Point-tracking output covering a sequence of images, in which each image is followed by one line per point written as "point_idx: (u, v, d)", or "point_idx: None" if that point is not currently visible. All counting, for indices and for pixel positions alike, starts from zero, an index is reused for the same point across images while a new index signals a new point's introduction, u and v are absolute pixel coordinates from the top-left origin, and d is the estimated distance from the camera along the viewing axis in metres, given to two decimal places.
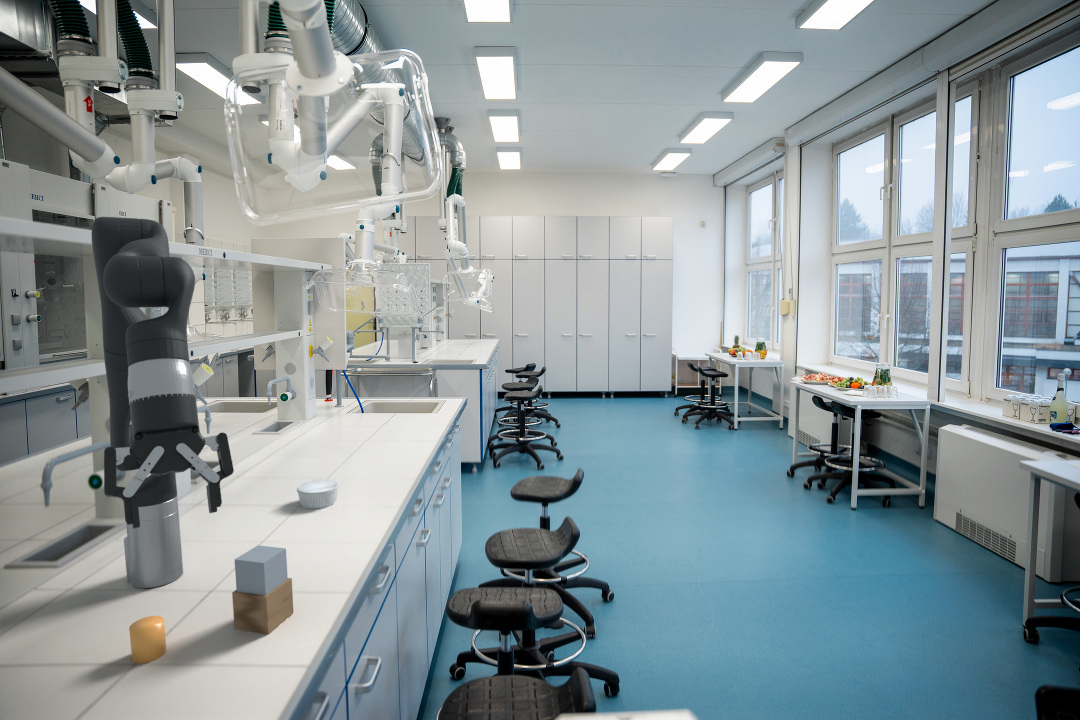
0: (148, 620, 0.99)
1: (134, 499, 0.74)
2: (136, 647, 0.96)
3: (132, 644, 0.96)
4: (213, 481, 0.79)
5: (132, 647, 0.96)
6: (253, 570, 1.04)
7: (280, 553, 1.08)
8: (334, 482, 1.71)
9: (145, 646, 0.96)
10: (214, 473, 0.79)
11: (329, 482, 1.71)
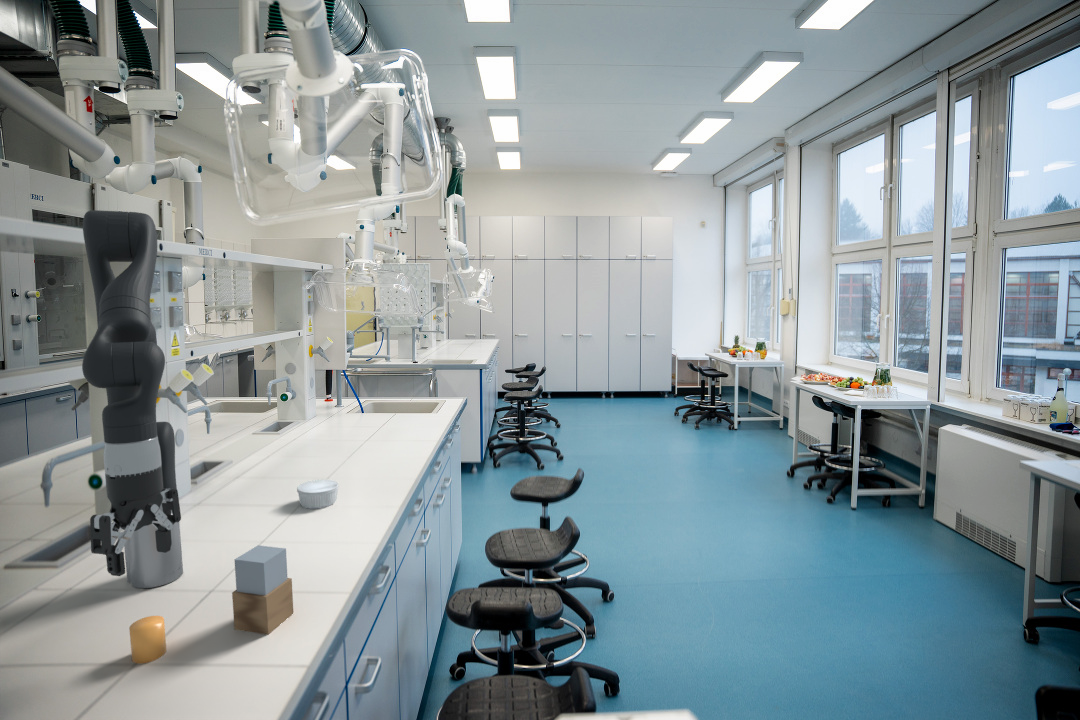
0: (148, 620, 0.99)
1: (121, 554, 0.92)
2: (136, 647, 0.96)
3: (132, 644, 0.96)
4: (169, 529, 1.00)
5: (132, 647, 0.96)
6: (253, 570, 1.04)
7: (280, 553, 1.08)
8: (334, 482, 1.71)
9: (145, 646, 0.96)
10: (169, 522, 1.01)
11: (329, 482, 1.71)
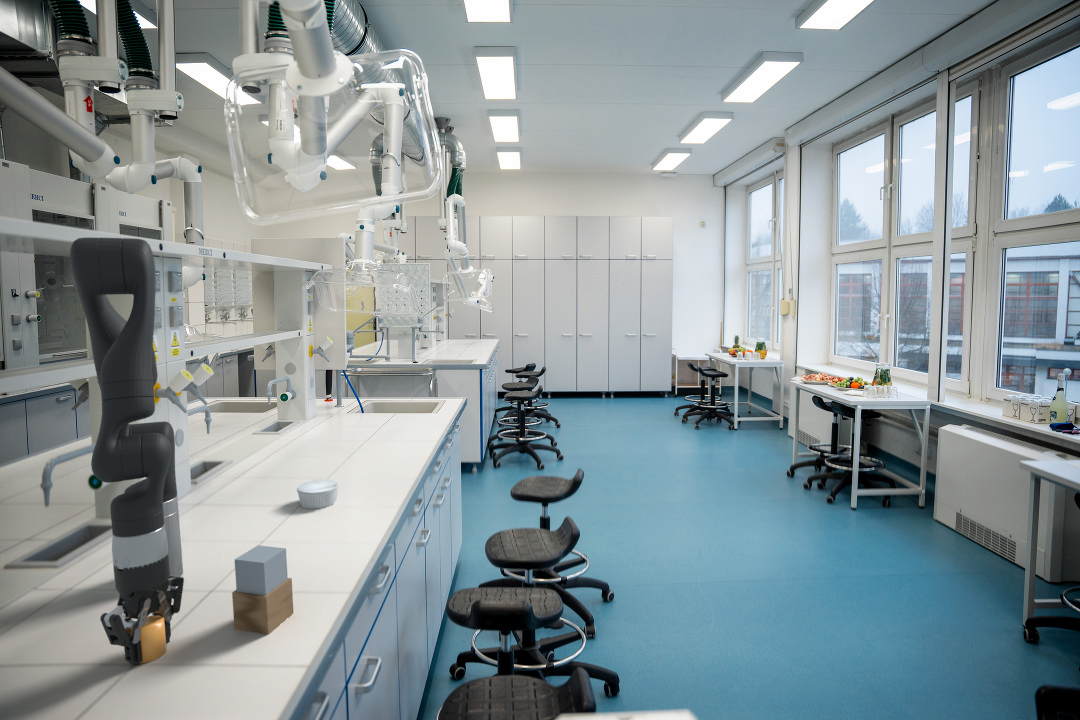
0: (148, 620, 0.99)
1: (139, 643, 0.95)
2: None
3: None
4: (167, 621, 1.01)
5: None
6: (253, 570, 1.04)
7: (280, 553, 1.08)
8: (334, 482, 1.71)
9: (145, 646, 0.96)
10: (169, 614, 1.01)
11: (329, 482, 1.71)
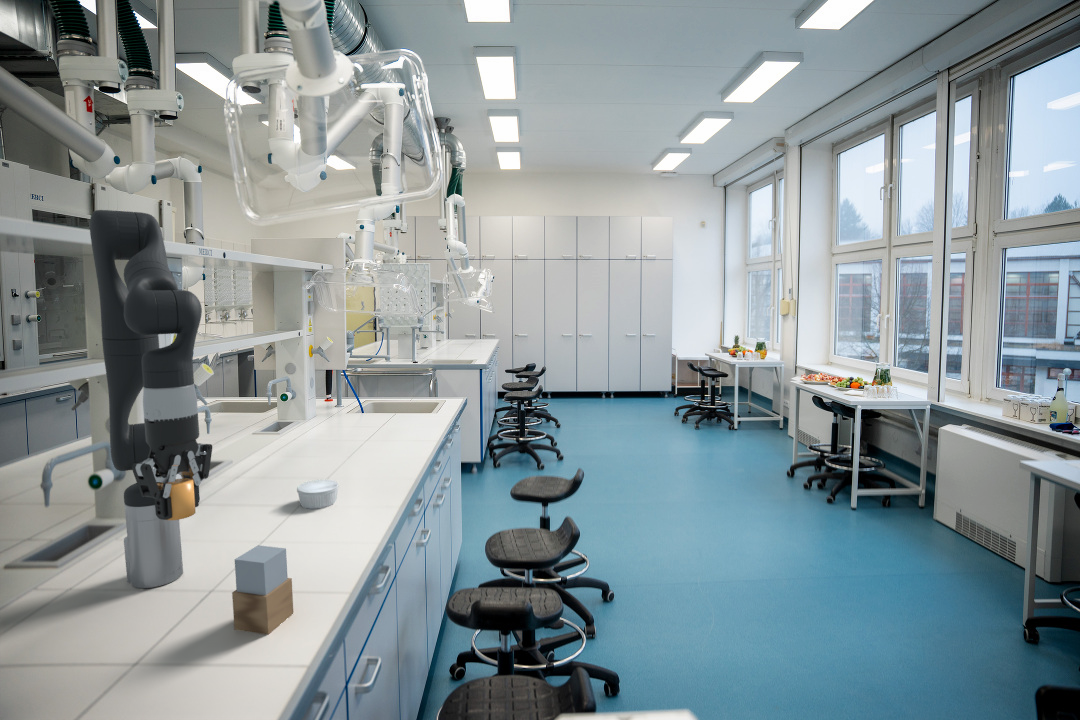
0: (178, 481, 0.99)
1: (169, 498, 0.96)
2: None
3: None
4: (196, 484, 1.01)
5: None
6: (253, 570, 1.04)
7: (280, 553, 1.08)
8: (334, 482, 1.71)
9: (175, 503, 0.96)
10: (198, 478, 1.01)
11: (329, 482, 1.71)
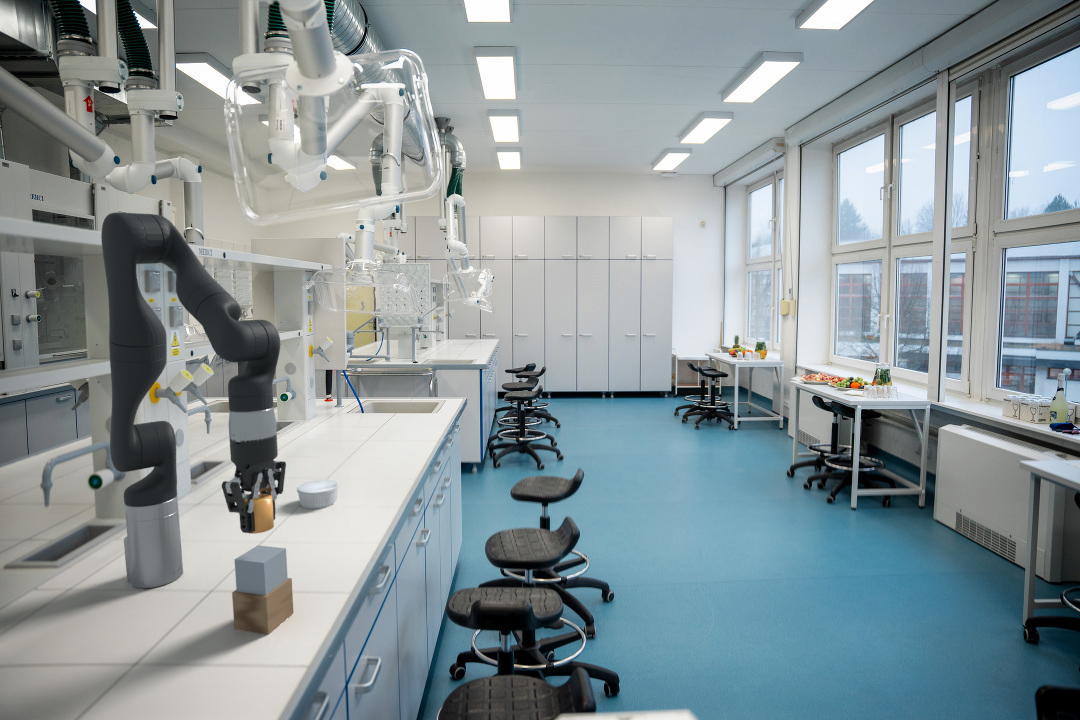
0: (258, 496, 1.07)
1: (252, 513, 1.03)
2: None
3: None
4: (273, 499, 1.08)
5: None
6: (253, 570, 1.04)
7: (280, 553, 1.08)
8: (334, 482, 1.71)
9: (257, 517, 1.04)
10: (274, 493, 1.09)
11: (329, 482, 1.71)
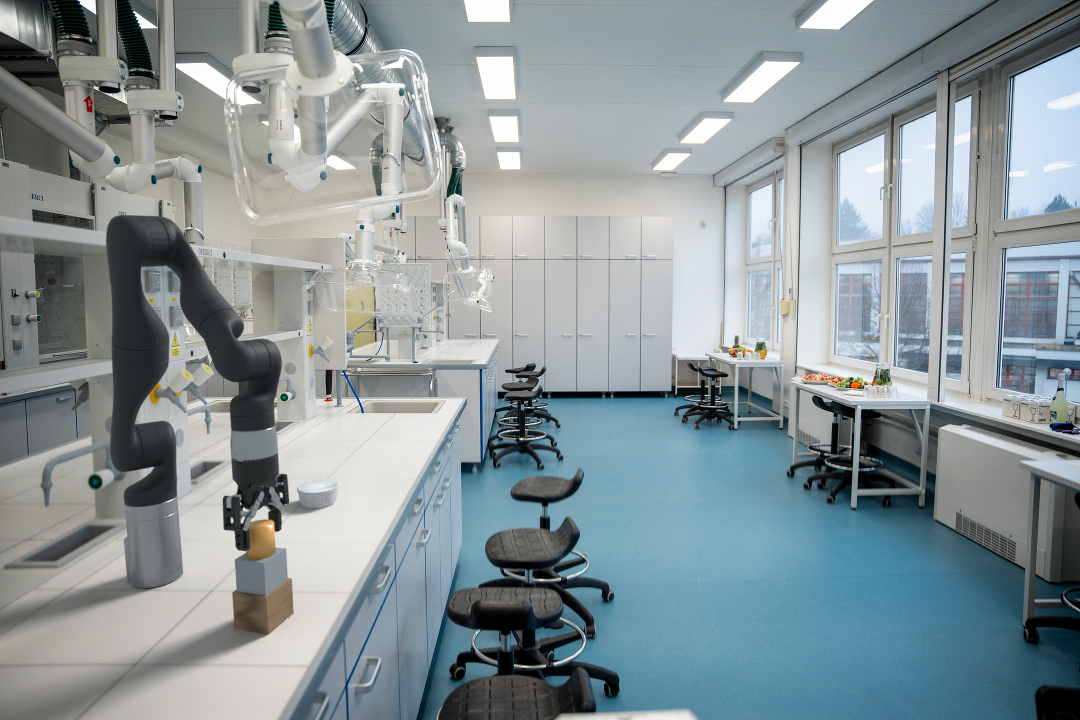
0: (260, 522, 1.07)
1: (248, 531, 1.02)
2: (252, 544, 1.04)
3: None
4: (280, 510, 1.10)
5: None
6: (253, 570, 1.04)
7: (280, 553, 1.08)
8: (334, 482, 1.71)
9: (259, 544, 1.05)
10: (281, 504, 1.10)
11: (329, 482, 1.71)
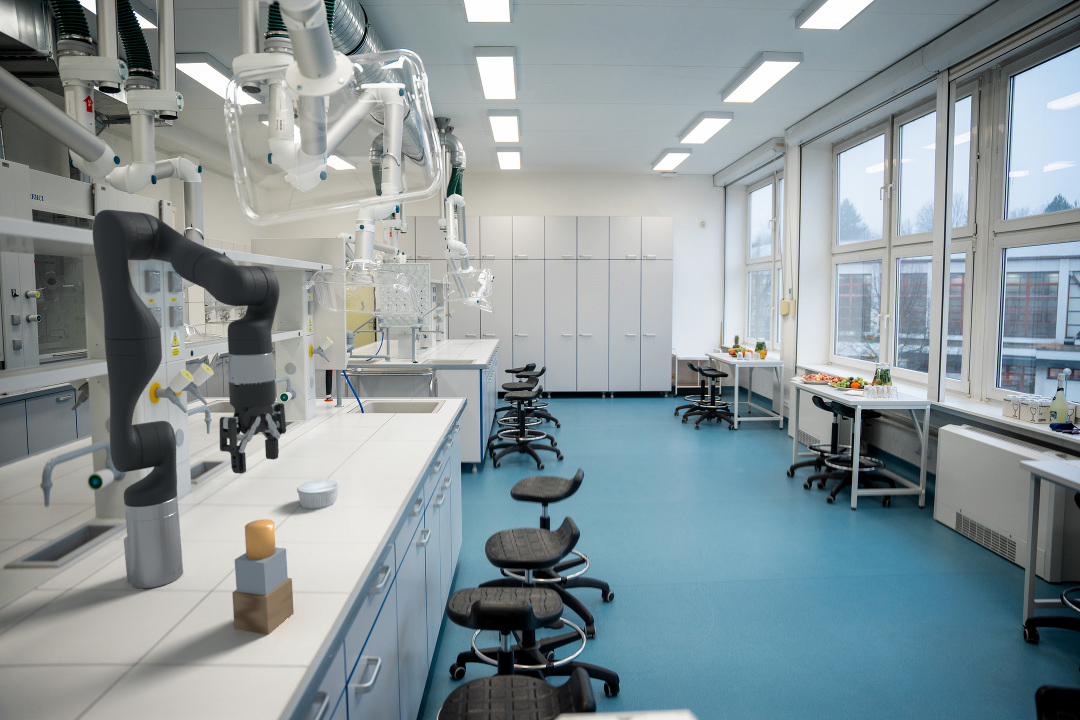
0: (260, 522, 1.07)
1: (244, 454, 1.03)
2: (252, 544, 1.04)
3: (248, 542, 1.05)
4: (277, 438, 1.12)
5: (248, 545, 1.05)
6: (253, 570, 1.04)
7: (280, 553, 1.08)
8: (334, 482, 1.71)
9: (260, 544, 1.05)
10: (278, 432, 1.12)
11: (329, 482, 1.71)
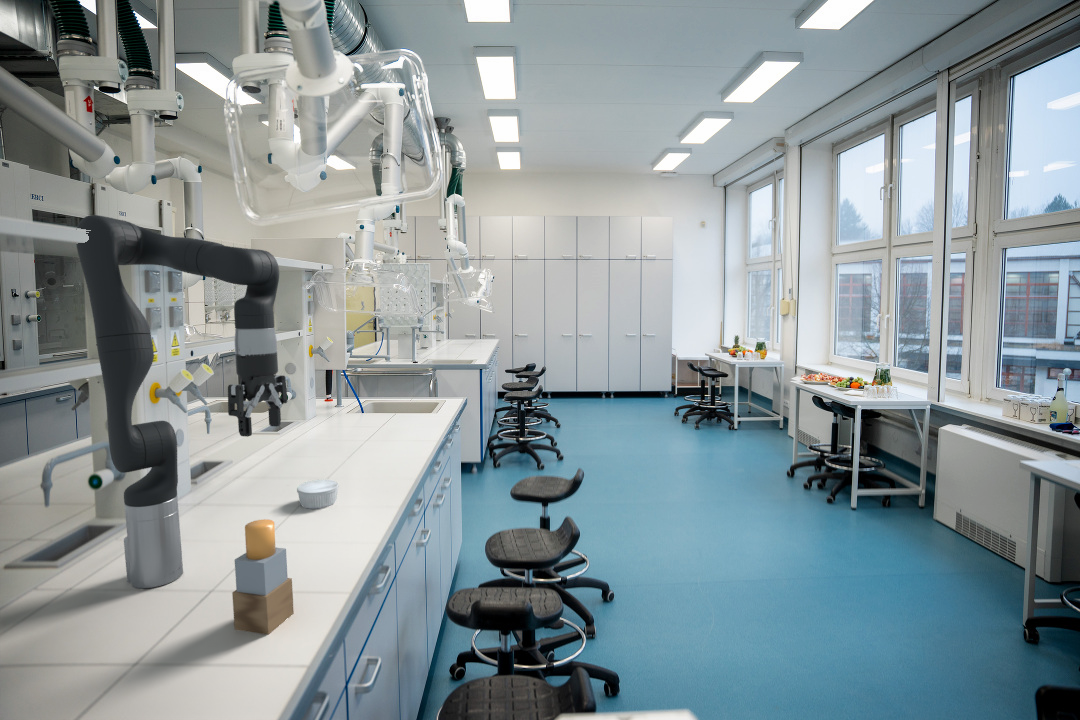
0: (260, 522, 1.07)
1: (249, 418, 1.15)
2: (252, 544, 1.04)
3: (248, 542, 1.05)
4: (279, 407, 1.23)
5: (248, 544, 1.05)
6: (253, 570, 1.04)
7: (280, 553, 1.08)
8: (334, 482, 1.71)
9: (260, 544, 1.04)
10: (280, 402, 1.23)
11: (329, 482, 1.71)
